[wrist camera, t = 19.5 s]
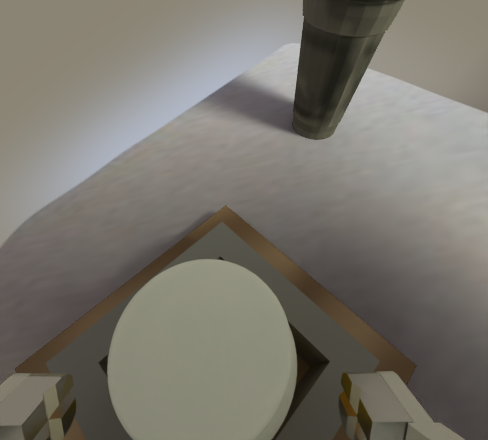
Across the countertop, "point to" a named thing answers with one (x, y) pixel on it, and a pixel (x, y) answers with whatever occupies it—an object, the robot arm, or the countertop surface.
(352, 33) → the beverage cup
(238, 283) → the supplement bottle
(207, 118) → the countertop surface
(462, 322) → the countertop surface
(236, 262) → the collar socket
